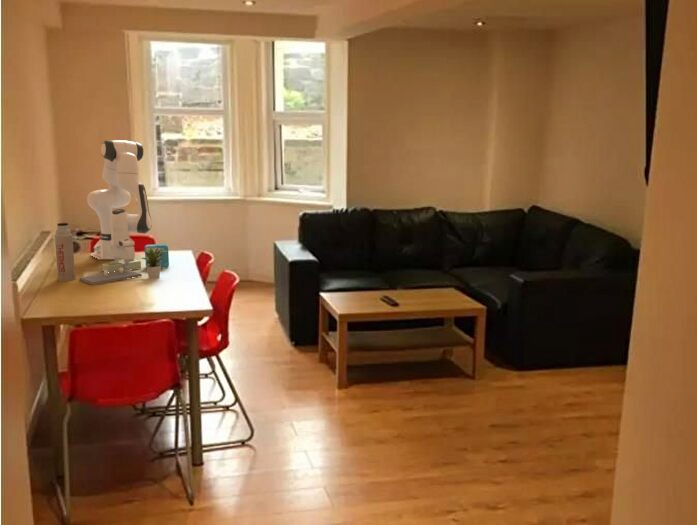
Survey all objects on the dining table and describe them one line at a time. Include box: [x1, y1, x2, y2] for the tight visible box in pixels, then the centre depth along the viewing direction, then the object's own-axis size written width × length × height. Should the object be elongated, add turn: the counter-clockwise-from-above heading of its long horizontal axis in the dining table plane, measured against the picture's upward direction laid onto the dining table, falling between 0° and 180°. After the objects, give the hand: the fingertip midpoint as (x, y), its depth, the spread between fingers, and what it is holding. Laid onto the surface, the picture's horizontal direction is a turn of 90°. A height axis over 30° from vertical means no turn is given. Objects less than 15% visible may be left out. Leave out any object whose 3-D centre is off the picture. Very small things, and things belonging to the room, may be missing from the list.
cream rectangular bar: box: [101, 258, 142, 272], centre depth 374 cm, size 18×6×4 cm, turn 137°
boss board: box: [78, 268, 143, 286], centre depth 355 cm, size 14×26×4 cm, turn 137°
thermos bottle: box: [54, 222, 76, 282], centre depth 350 cm, size 8×8×28 cm
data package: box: [144, 243, 170, 269], centre depth 381 cm, size 12×4×12 cm, turn 105°
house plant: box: [140, 246, 169, 280], centre depth 354 cm, size 14×14×16 cm
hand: (122, 266), depth 374 cm, fingers closed on cream rectangular bar, 7 cm apart
